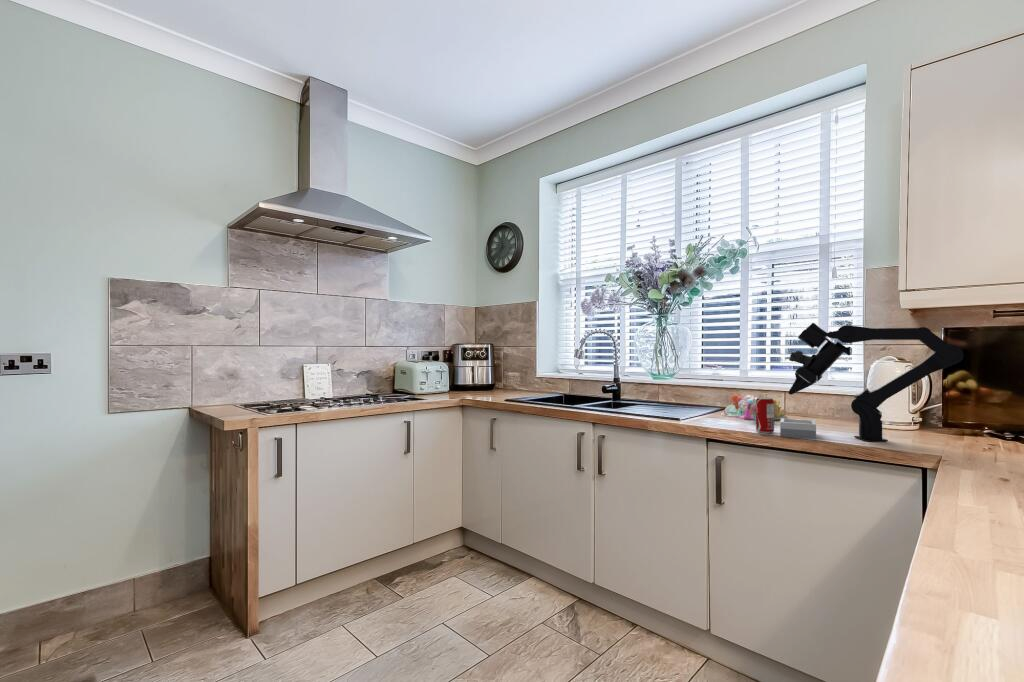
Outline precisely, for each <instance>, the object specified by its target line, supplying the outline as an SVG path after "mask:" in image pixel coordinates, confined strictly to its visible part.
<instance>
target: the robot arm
mask: <svg viewBox="0 0 1024 682" xmlns="http://www.w3.org/2000/svg"><path fill="white" fill-rule="evenodd" d="M828 338H829V339H828ZM797 339H799V340H800V341H801V342H803V343H805V345H807V346H809V347H810V348H812V349H814V348H817V349H819V348H820V347H821V346H822V345H823V346H822V347H821V348H820V349H819V350H818V351H817V352H816V353H814V354H812V355H807V354H804V352H803V351H801V350H796V351H791V353H790V355H789V358H788V361H790V362H794V363H798V364H801V365H802V366H799V367H798V368H797V369H796V370H795V373H794V375H795V380H794V382H793V384H792V385H791V387H790V389H789V391H787V392H788V394H789V395H790V396H791V395H794V394H795V393H796V394H797V392H800V391H802V390H804V389H806V388H809V387H811V386H813V385H814V384H816V383H817V382H819V381H820V380H821V379H822V378H823V375H824V373H825V372H826V371H828V370H829V368H831V367H832V366H833V365H834V363H835V362H836V361H837V360H838V359H840V357H841V356H842V355H843V354H844V353H845V354H846V355H847V356H851V354H852V352H851V348H852V347H851V346H846V345H843V344H842V343H844V344H853V343H860V342H868V341H897V340H899V341H907V340H908V341H920V342H921V343H922V344H923V345H925V346H926V347H927V348H929V349H930V350H931V351H932V352H931V354H929V355H928V356H927V357H926V358H925V359H924V360H922V362H921V363H919V364H917V365H916V366H914V367H912V368H910V369H909V370H907V371H905V372H904V373H902V374H901V375H899V376H897V377H896V378H894V379H892V380H890V381H888V382H887V383H885V384H883V385H882V386H880V387H879V388H876V389H874V390H871V391H870V390H869V388H868V387H867V388H865V389H864V390H863V391H861V392H860V393H858V394H855V395H854V398H853V400H852V402H851V404H850V408H851V411H852V412H853V413H854V414H856V415H858V417H859V418H858V435H854V436H853V437H854V438H855V439H859V440H862V441H865V442H888V439H886V438H884V437H883V420H882V418H883V413H882V411H881V410H880V409H878V408H879V407H880V406H881V405H882V404H883V403H884V402H885V401H886V400H887V399H889V398H891V397H893V396H895V395H897V394H898V393H900V392H902V391H903V390H904V389H907V388H908V387H910V386H912V385H913V384H915V383H916V382H918V381H920V380H922V379H923V378H926V377H927V376H929V375H931V374H933V373H934V372H938V371H941V370H945V369H946V368H949V367H951V366H954V365H957V364H960V362H961V361H963V359H964V355H965V354H964V351H963V349H962V348H960V347H959V346H958V345H954V344H949V343H947V342H946V341H945V340H943V339H942V338H941V337H939V336H938V335H937V334H935V333H934V332H933V331H931V329H930V328H928V327H925V326H920V327H893V328H889V327H887V328H884V327H883V328H879V327H878V328H877V327H876V328H871V327H864V326H859V325H858V326H857V325H849V324H845V325H842V326H840V327H839V328H838V329H837V330H835V331H828V332H827V331H825V330H824V329H822V328H821V327H820V326H818V325H817V324H816V323H815V322H812V323H811V324H810V325H809V326H807V327H806V329H803V330H802V332H801V333H800V334H799V335H798V336H797ZM830 339H832V340H838V341H837V342H836V343H835V342H833V341H831V340H830ZM839 341H840V342H839ZM825 342H826V343H825Z"/></svg>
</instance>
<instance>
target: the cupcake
mask: <svg viewBox="0 0 1024 682" xmlns="http://www.w3.org/2000/svg"><path fill="white" fill-rule="evenodd" d="M764 397H768V392H767V391H766V393H765V394H764ZM750 413H752V414H753V416H754V418H755V420H754V421H755V422H756V405H754V406H753V407H751V409H750ZM774 414H775V410H774Z"/></svg>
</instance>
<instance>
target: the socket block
mask: <svg viewBox="0 0 1024 682" xmlns="http://www.w3.org/2000/svg"><path fill="white" fill-rule="evenodd" d="M779 426H780V429H779V431H780V432H779V433H780V437H788V438H789V437H790V438H800V439H801V438H803V439H813V438H814V439H815V440H816V439H817V423H816V420H815V419H814V420H813V419H800V418H799V419H798V418H787V417H785V418H780V423H779Z"/></svg>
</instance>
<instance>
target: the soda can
mask: <svg viewBox="0 0 1024 682" xmlns="http://www.w3.org/2000/svg"><path fill="white" fill-rule="evenodd" d="M756 398H757V399H756V421H755V431H758V432H757V433H760V432H762V433H761V434H772V432H774V431H775V420H774V402H773V399H774V398H773V397H769V396H767V397H765V396H757V397H756Z"/></svg>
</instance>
